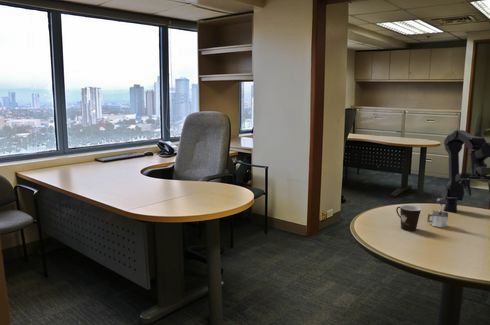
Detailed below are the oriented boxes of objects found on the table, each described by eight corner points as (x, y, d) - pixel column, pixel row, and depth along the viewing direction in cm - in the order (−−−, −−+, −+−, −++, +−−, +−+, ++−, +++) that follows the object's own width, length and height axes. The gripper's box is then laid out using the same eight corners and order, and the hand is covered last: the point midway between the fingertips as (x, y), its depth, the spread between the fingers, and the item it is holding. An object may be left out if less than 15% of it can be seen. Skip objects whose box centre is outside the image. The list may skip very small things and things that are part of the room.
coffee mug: (421, 232, 177) (424, 211, 175) (402, 232, 177) (404, 210, 175) (411, 223, 189) (413, 203, 187) (393, 223, 189) (395, 203, 187)
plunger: (434, 213, 189) (436, 197, 188) (446, 215, 187) (447, 198, 186) (433, 216, 185) (435, 199, 183) (445, 218, 183) (447, 201, 181)
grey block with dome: (427, 221, 192) (428, 209, 191) (446, 224, 188) (448, 212, 187) (426, 225, 186) (428, 213, 185) (446, 229, 182) (448, 216, 181)
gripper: (464, 157, 177) (467, 192, 173) (508, 159, 176) (512, 194, 172) (453, 164, 188) (456, 196, 184) (495, 165, 186) (498, 198, 182)
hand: (480, 196), depth 180 cm, fingers open, 9 cm apart
